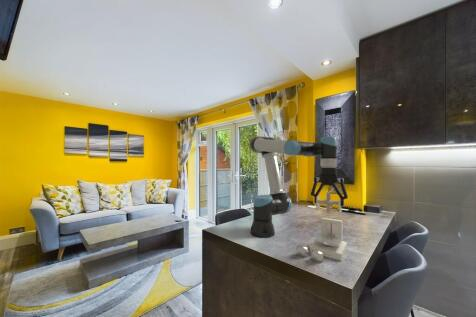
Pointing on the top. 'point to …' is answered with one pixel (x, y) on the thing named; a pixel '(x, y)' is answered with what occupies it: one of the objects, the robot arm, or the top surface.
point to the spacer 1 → (302, 251)
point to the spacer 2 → (317, 256)
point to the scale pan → (328, 240)
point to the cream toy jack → (328, 202)
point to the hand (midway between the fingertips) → (328, 211)
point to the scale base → (331, 229)
